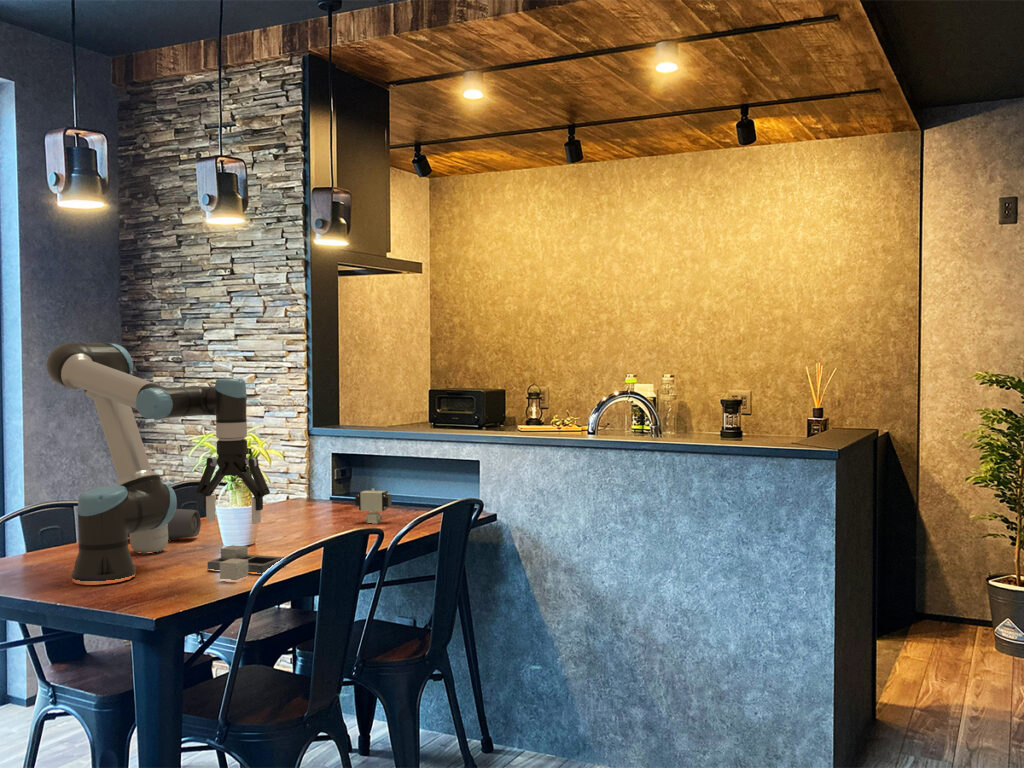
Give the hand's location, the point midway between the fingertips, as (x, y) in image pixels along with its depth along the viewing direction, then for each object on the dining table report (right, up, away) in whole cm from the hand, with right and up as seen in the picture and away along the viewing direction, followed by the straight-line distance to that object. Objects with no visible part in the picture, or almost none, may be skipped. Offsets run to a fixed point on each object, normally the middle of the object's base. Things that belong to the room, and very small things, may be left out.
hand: (233, 522), depth 235 cm
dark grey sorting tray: (0, -15, +13) cm, 20 cm away
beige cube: (0, -15, 0) cm, 15 cm away
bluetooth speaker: (-39, -14, +55) cm, 69 cm away
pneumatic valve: (+24, -13, +82) cm, 86 cm away
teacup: (-36, -15, +38) cm, 54 cm away
